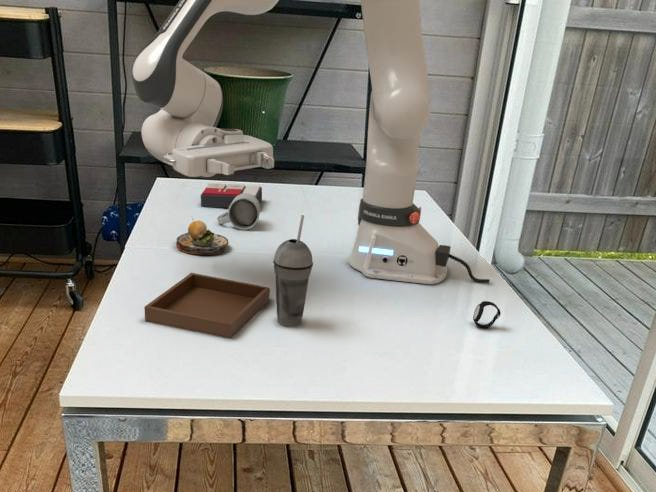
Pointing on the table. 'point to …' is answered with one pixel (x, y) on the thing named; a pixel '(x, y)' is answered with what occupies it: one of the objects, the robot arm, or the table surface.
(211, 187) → the red and grey box
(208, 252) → the burger
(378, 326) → the table surface
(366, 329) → the table surface
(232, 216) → the ceramic mug
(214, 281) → the tray
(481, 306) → the smartwatch
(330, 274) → the table surface
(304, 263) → the beverage cup
